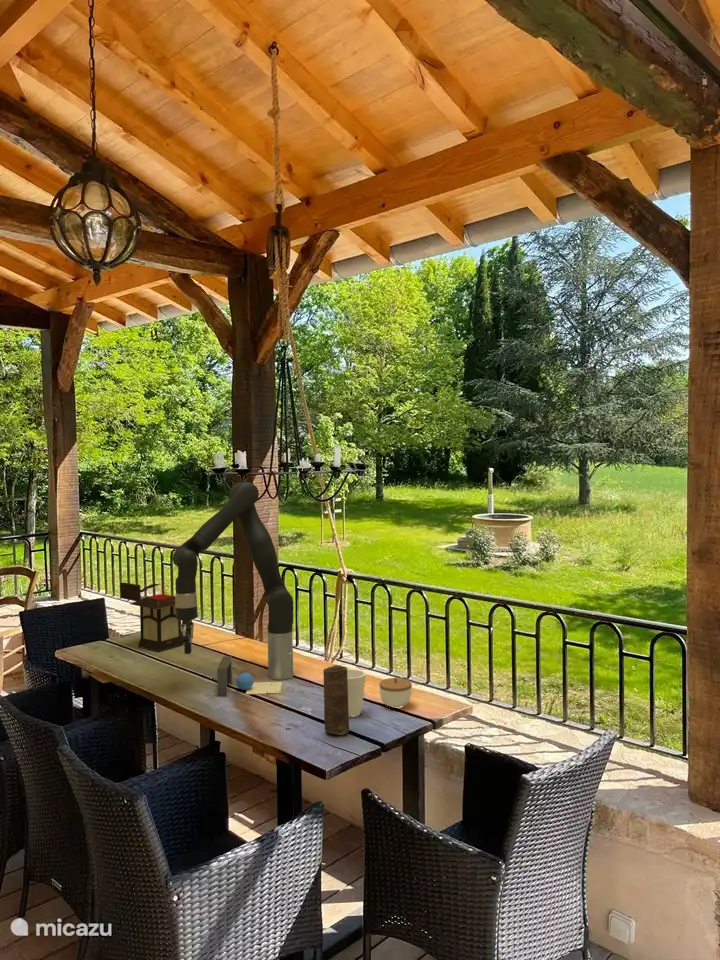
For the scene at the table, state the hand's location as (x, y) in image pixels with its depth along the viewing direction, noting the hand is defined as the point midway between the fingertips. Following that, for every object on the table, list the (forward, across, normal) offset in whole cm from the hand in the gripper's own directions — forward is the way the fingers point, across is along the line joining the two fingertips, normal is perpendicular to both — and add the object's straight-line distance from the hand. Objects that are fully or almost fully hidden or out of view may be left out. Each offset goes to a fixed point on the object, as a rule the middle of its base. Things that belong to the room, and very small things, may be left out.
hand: (188, 653), depth 251 cm
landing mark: (+14, 0, -26) cm, 30 cm away
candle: (+14, -42, -51) cm, 68 cm away
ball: (+11, -1, -20) cm, 23 cm away
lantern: (+13, +56, +25) cm, 63 cm away
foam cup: (+14, -27, -56) cm, 64 cm away
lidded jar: (+15, -21, -71) cm, 76 cm away
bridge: (+14, 0, -12) cm, 18 cm away
